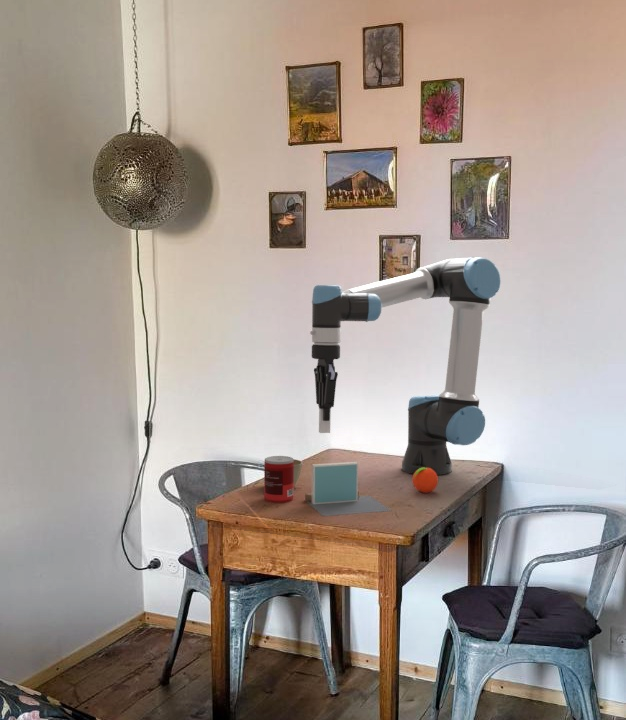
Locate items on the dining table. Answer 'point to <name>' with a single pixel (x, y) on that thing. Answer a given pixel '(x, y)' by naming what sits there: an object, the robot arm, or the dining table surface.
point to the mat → (350, 507)
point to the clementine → (425, 479)
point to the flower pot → (297, 470)
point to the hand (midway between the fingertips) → (324, 432)
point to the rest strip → (309, 497)
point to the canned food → (279, 479)
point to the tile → (334, 482)
